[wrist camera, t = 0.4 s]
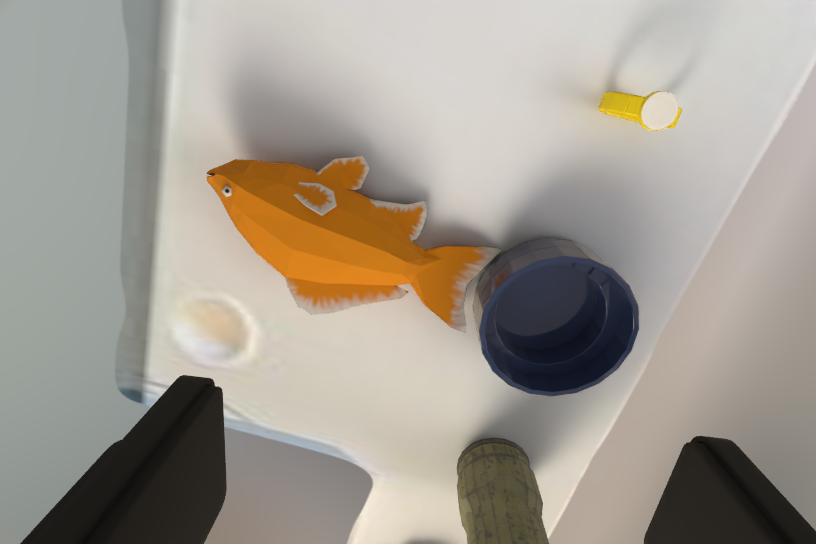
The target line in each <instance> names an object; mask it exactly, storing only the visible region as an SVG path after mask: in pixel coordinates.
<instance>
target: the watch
mask: <svg viewBox="0 0 816 544" xmlns="http://www.w3.org/2000/svg"><path fill="white" fill-rule="evenodd" d="M598 110H599V111H601V112H603V113H605V114H610V115H614V116H617V117H621V118H624V119H628V120H632V121H635V122H639V123H640V125H641V126H642V127H643V128H645V129H647V130H654V131H658V130H662V129H664V128H674V127H675V126H676V123H677V121H678V119H679V117H680V114H681V112H682V109H681V108H679V107H678V101H677V99H676V97H675V96H674V95H673V94H671V93H669V92H665V91H658V92H653V93H651V94H649V95H648V96H646V97H641V96H637V95H631V94H625V93H619V92H606V93H605V94H604V96H603V98H602V101H601V104H600V106H599V109H598Z"/></svg>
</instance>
